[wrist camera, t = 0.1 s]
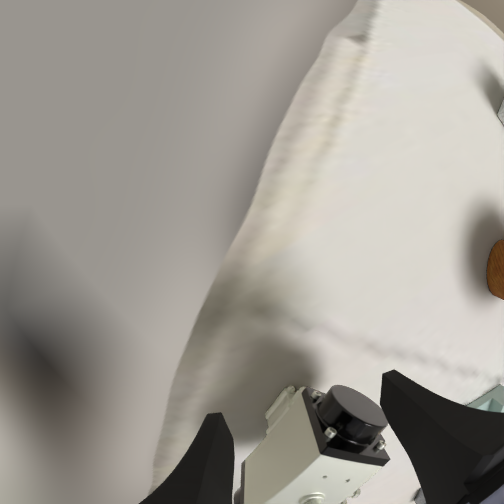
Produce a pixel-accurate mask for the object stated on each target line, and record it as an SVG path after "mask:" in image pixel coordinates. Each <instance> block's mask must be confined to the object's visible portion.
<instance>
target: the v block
mask: <svg viewBox="0 0 504 504" xmlns="http://www.w3.org/2000/svg"><path fill="white" fill-rule="evenodd" d="M466 406H468V407H472V408H476V409H481V410H486V411H493V412H504V386H502V385H499V386H497V387H496V388H494V389H493V390H491V391H490V392H488V393H486V394H485V395H483V396H482V397H480V398H478V399H477V400H475V401H473V402H472V403H470V404H468V405H466Z"/></svg>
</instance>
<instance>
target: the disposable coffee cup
mask: <svg viewBox="0 0 504 504" xmlns="http://www.w3.org/2000/svg"><path fill="white" fill-rule="evenodd" d="M487 282H488V286H489V289H490V291H491V293H492V294H493V295H495V296H497V297H499V298H501V299H503V300H504V240H500V241H498V242H497V243H496V244H495V245H494V247H493V248H492V250H491V253H490V256H489V260H488V265H487Z"/></svg>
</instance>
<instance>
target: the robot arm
mask: <svg viewBox="0 0 504 504" xmlns="http://www.w3.org/2000/svg"><path fill="white" fill-rule="evenodd" d="M380 405H381V408H382V410H383V412H384V415H385V417H386V419H387V421H388V423H389V425H390V426H391V428H392V430H393V431H394V433H395V434H396V436H397V438H398V439H399V441H400V443H401V444H402V446H403V447H404V449H405V451H406V452H407V454H408V456H409V458H410V460H411V462H412V465H413V467H414V469H415V472H416V474H417V477H418V480H419V482H420V485H421V488H422V491H423V494H424V497H425V501H426V504H504V412H493V411H486V410H481V409H476V408H472V407H468V406H465V405H462V404H459V403H456V402H453V401H451V400H448V399H446V398H444V397H441V396H439V395H437V394H435V393H433V392H431V391H430V390H428V389H426V388H424V387H422V386H421V385H419V384H417V383H416V382H414V381H412V380H411V379H409V378H407V377H406V376H404V375H403V374H401V373H399V372H398V371H396V370H391V371H389V372H386V373H383V374H382V386H381V397H380ZM234 460H235V456H234V441H233V437H232V435H231V433H230V431H229V428H228V426H227V424H226V422H225V420H224V417H223V415H222V413H221V412H220V413H211V414H207V415H206V417H205V419H204V421H203V423H202V425H201V427H200V429H199V431H198V433H197V435H196V437H195V439H194V440H193V442H192V444H191V445H190V447H189V449H188V450H187V452H186V454H185V455H184V456H183V458H182V459H181V461H180V462H179V464H178V465H177V466H176V468H175V469H174V470H173V472H172V473H171V474H170V475H169V476H168V477H167V479H166V480H165V481H164V482H163V483H162V484H161V485H160V486H159V487H158V488H157V489H156V490H155V491H154V492H153V493H151V494H150V495H149V496H148V497H147V498H146V499H144V500H143V501H142V502H140V503H139V504H232V489H233V475H234Z"/></svg>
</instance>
